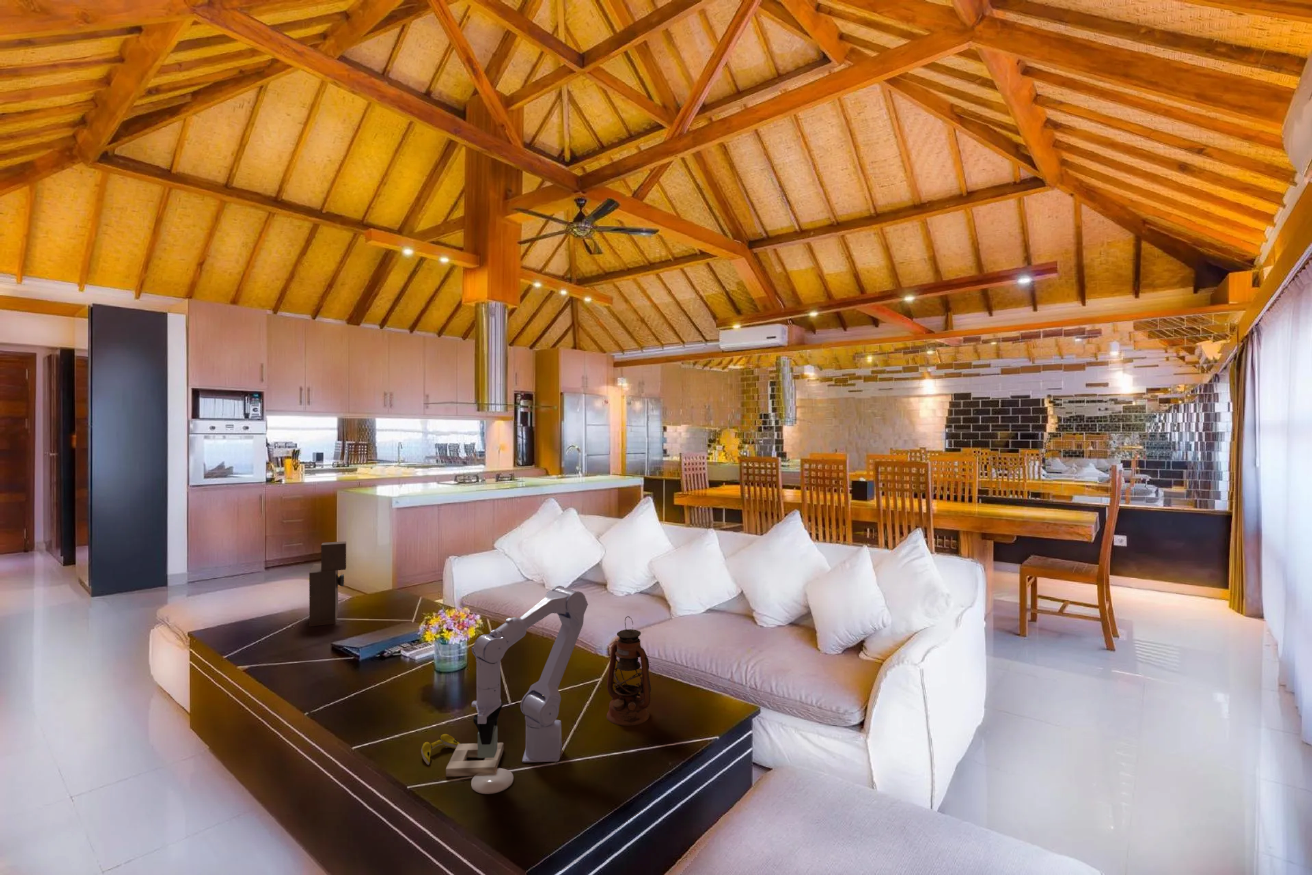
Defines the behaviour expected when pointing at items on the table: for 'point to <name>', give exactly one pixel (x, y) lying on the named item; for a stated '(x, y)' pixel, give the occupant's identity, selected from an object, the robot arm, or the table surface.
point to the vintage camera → (326, 584)
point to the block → (488, 746)
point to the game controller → (444, 740)
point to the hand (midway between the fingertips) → (488, 738)
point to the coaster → (492, 781)
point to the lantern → (626, 698)
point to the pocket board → (471, 768)
